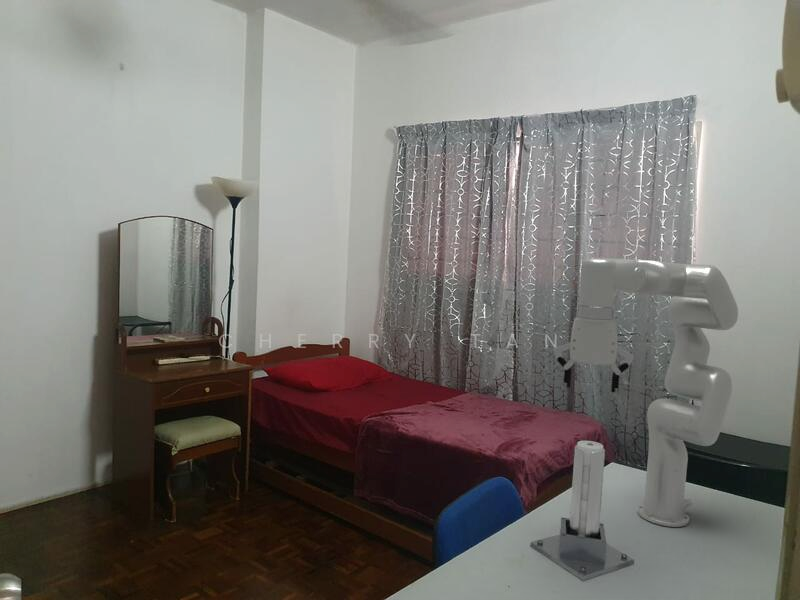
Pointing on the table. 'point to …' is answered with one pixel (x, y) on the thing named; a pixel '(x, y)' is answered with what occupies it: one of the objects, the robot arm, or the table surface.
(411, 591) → the table surface
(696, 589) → the table surface
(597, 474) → the air filter
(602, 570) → the metal base plate
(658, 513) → the robot arm
